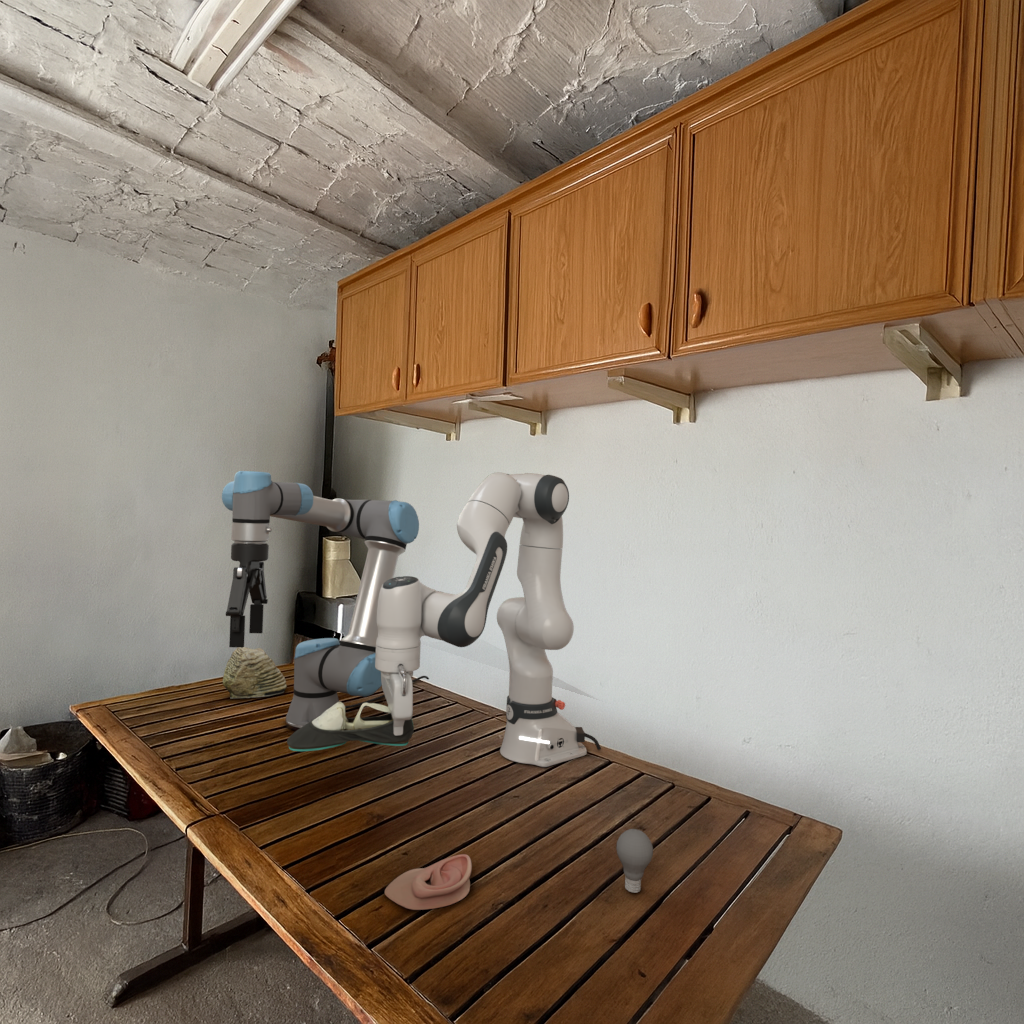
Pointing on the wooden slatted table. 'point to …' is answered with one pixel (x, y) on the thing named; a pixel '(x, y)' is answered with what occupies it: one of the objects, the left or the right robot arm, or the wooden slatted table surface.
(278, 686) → the fossil
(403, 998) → the wooden slatted table surface
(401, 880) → the anatomical model
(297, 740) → the ballet flat
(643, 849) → the light bulb
